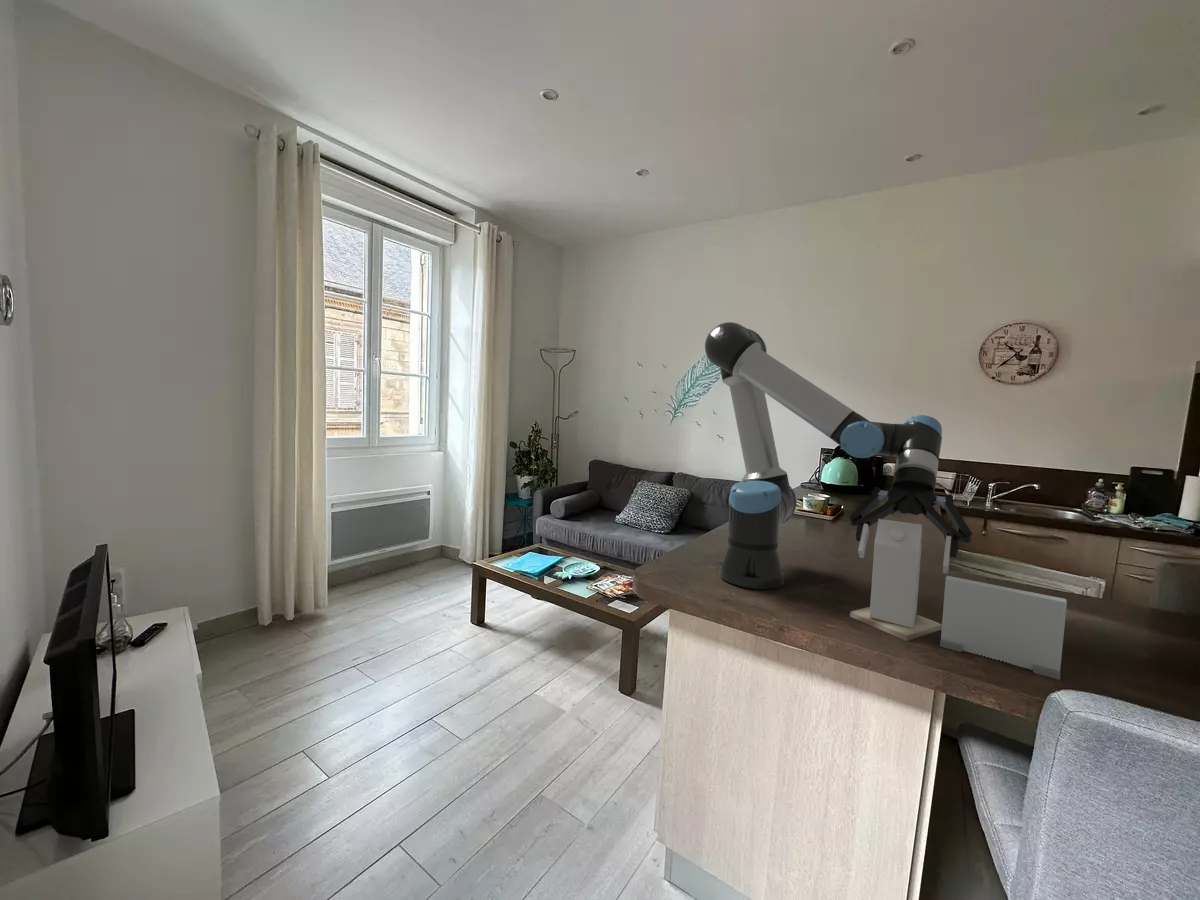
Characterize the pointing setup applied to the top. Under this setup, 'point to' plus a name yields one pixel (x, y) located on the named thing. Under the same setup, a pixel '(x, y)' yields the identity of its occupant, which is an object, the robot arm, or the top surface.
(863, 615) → the birch board
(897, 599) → the milk carton
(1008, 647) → the grey screen
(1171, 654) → the top surface
